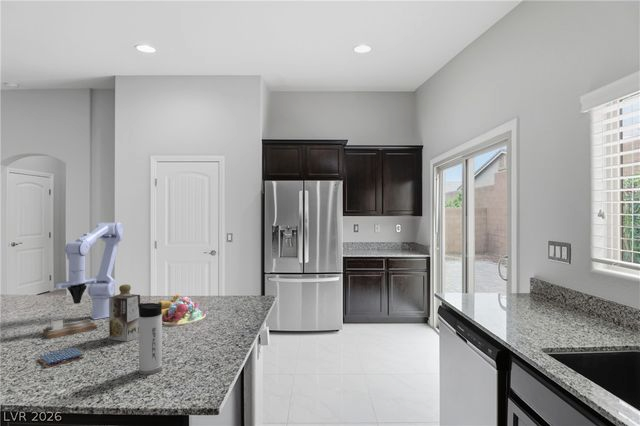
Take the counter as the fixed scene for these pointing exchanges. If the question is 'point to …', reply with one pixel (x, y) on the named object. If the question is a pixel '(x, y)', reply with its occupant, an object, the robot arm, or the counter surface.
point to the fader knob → (56, 323)
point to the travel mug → (150, 338)
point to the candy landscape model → (180, 311)
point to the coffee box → (124, 317)
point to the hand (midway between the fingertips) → (77, 303)
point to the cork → (125, 289)
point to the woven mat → (60, 357)
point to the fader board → (70, 329)
